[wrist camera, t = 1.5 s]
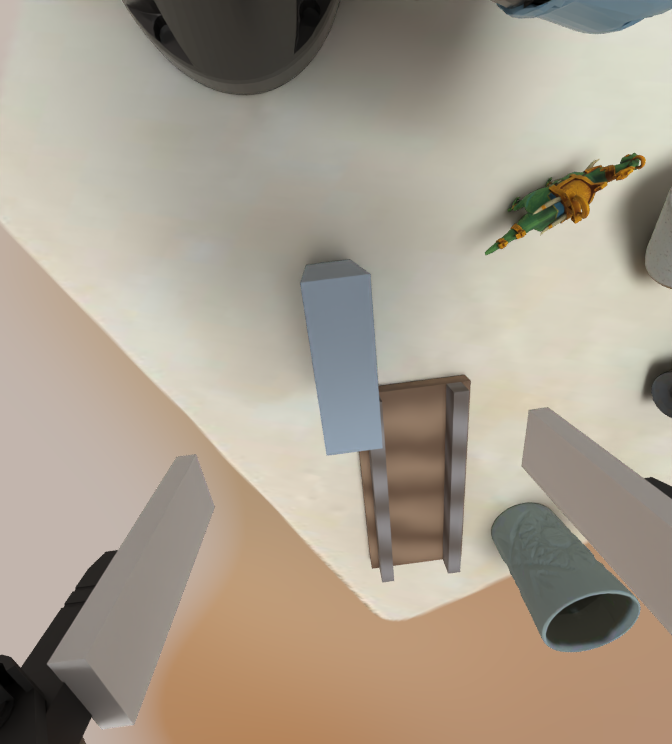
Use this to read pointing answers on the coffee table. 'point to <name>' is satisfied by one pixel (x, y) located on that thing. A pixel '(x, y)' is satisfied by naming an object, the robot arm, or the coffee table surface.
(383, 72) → the coffee table surface
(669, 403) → the camera
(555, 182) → the figurine
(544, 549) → the grey green cup
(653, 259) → the ceramic mug
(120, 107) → the coffee table surface
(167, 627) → the robot arm
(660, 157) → the coffee table surface
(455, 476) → the door track
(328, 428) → the door panel
